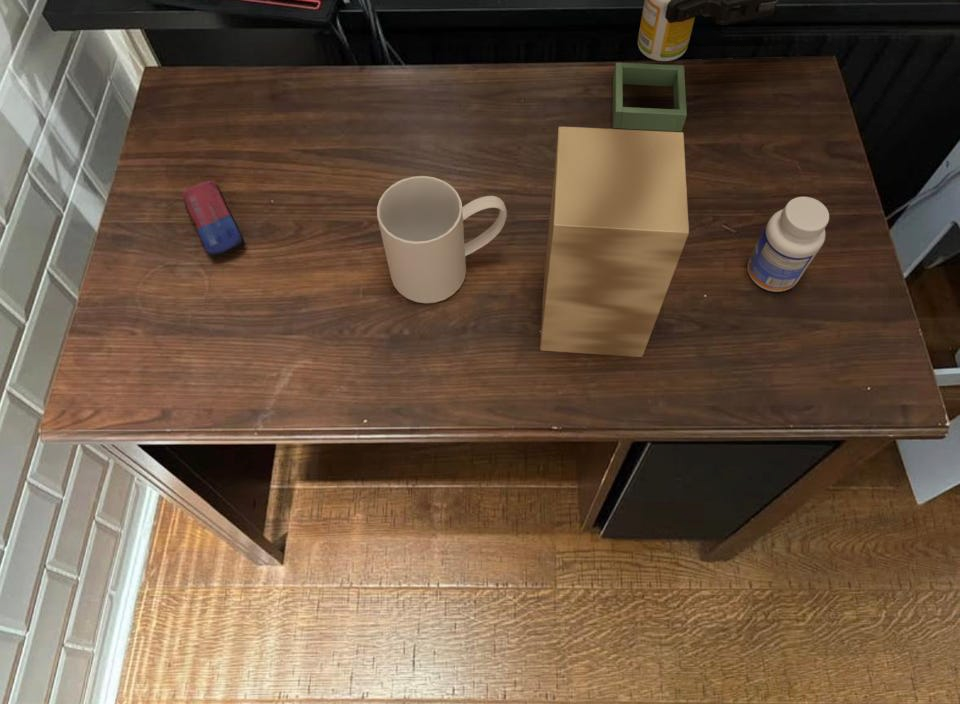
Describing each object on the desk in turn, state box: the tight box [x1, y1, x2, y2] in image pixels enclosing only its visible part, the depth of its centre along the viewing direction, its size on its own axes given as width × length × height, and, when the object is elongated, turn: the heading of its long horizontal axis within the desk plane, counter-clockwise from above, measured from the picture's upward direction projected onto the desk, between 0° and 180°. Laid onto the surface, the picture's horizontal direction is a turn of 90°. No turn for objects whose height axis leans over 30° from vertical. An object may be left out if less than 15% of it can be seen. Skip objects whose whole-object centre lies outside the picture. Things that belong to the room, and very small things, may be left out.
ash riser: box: [539, 126, 690, 358], centre depth 66 cm, size 10×10×20 cm
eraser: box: [182, 180, 246, 260], centre depth 80 cm, size 11×4×2 cm, turn 28°
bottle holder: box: [612, 62, 688, 132], centre depth 87 cm, size 8×8×3 cm
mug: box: [376, 175, 508, 304], centre depth 73 cm, size 12×8×10 cm, turn 102°
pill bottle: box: [746, 196, 830, 293], centre depth 72 cm, size 5×5×10 cm
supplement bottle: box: [637, 0, 696, 62], centre depth 76 cm, size 5×5×10 cm
